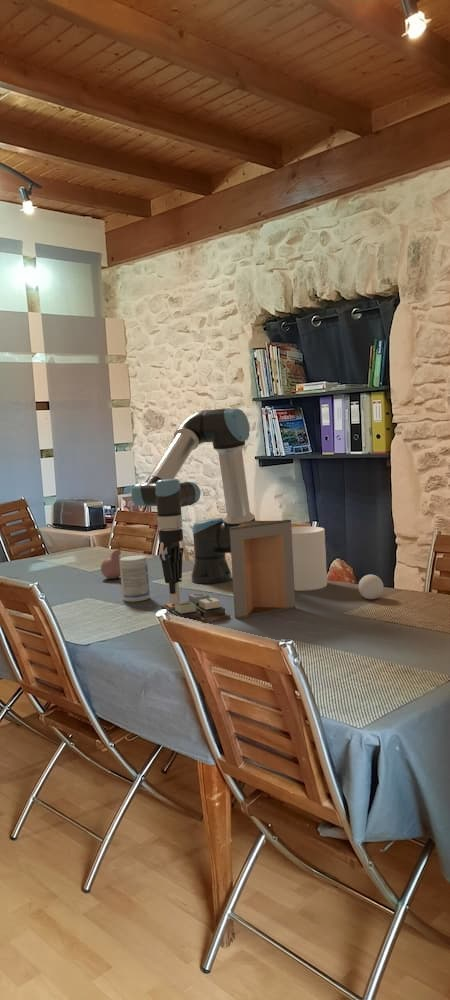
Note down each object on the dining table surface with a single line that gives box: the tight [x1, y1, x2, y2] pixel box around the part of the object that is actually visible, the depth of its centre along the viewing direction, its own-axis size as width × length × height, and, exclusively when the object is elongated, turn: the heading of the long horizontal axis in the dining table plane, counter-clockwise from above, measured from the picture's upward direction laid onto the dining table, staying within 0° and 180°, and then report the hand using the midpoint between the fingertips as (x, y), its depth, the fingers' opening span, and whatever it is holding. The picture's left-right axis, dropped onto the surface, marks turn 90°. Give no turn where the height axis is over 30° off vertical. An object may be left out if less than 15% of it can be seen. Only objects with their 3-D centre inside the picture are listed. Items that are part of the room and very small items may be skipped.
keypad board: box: [161, 600, 231, 624], centre depth 236 cm, size 17×19×3 cm
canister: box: [291, 526, 328, 592], centre depth 269 cm, size 16×16×20 cm
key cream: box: [199, 597, 222, 610], centre depth 233 cm, size 5×5×2 cm
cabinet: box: [230, 519, 296, 620], centre depth 237 cm, size 21×10×28 cm, turn 117°
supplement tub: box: [120, 555, 151, 603], centre depth 263 cm, size 10×10×15 cm
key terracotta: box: [164, 601, 183, 609], centre depth 238 cm, size 5×5×2 cm
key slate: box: [188, 592, 210, 604], centre depth 241 cm, size 5×5×2 cm
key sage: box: [175, 601, 196, 614], centre depth 230 cm, size 5×5×2 cm
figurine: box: [100, 548, 122, 580], centre depth 302 cm, size 9×11×12 cm
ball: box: [357, 573, 384, 600], centre depth 244 cm, size 8×8×8 cm
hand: (175, 603), depth 238 cm, fingers closed
